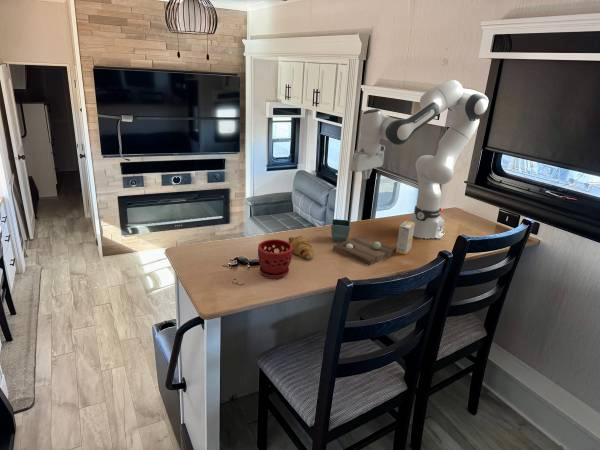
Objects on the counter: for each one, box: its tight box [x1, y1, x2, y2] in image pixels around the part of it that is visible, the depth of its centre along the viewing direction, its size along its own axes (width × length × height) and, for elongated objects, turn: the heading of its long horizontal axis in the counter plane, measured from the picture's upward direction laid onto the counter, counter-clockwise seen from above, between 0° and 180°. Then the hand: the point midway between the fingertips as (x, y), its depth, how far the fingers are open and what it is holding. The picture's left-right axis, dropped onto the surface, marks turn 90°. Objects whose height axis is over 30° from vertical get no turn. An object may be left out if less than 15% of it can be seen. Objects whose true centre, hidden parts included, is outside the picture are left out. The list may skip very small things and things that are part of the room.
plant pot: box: [257, 238, 293, 279], centre depth 159 cm, size 13×13×12 cm
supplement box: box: [395, 220, 415, 256], centre depth 186 cm, size 8×5×13 cm, turn 149°
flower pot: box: [330, 218, 351, 243], centre depth 196 cm, size 9×9×9 cm
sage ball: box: [373, 241, 382, 249], centre depth 182 cm, size 3×3×3 cm
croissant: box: [287, 235, 314, 261], centre depth 182 cm, size 21×10×8 cm, turn 27°
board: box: [332, 235, 395, 267], centre depth 184 cm, size 18×20×2 cm
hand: (365, 178), depth 185 cm, fingers closed
